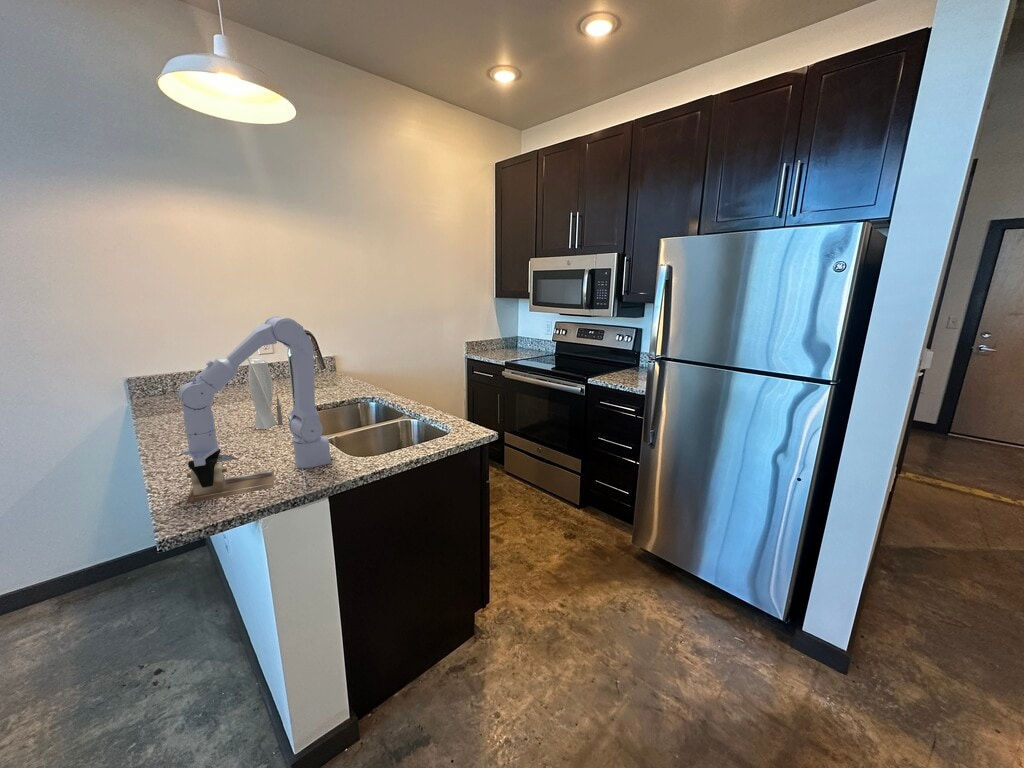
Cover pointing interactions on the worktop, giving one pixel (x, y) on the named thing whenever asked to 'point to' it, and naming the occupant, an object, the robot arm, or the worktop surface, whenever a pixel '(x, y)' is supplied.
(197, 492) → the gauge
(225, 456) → the driftwood
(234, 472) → the worktop surface
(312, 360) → the robot arm
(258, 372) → the skyscraper
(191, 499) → the board
